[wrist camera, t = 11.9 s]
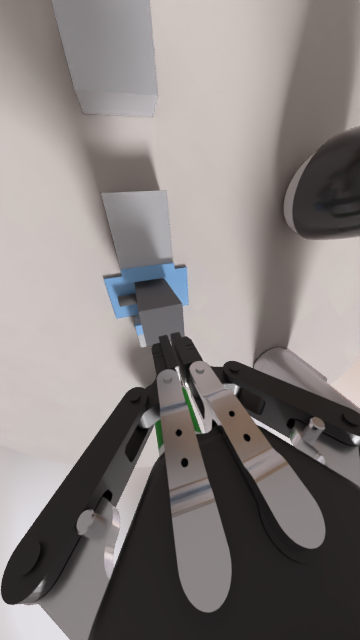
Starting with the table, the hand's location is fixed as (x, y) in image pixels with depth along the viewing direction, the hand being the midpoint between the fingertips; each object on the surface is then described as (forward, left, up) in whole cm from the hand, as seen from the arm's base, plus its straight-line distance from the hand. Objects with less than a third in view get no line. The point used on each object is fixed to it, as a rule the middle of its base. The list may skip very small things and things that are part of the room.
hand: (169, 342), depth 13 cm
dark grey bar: (+1, 0, -12) cm, 12 cm away
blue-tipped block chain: (0, -7, -12) cm, 14 cm away
